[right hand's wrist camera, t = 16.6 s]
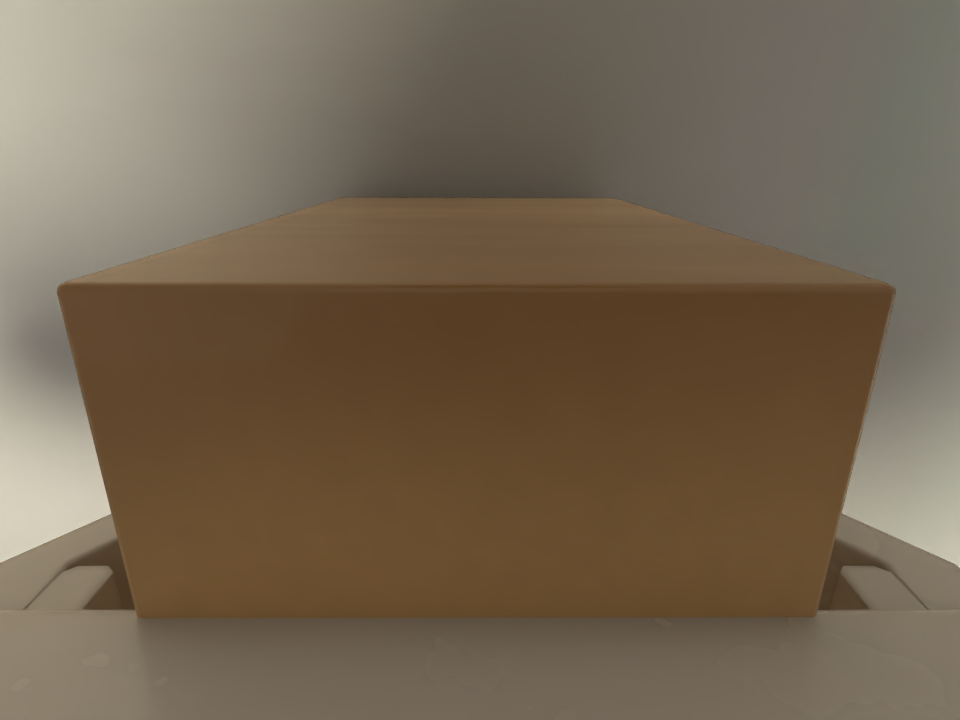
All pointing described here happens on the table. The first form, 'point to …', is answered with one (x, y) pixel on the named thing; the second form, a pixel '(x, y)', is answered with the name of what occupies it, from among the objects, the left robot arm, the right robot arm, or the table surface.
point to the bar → (476, 413)
